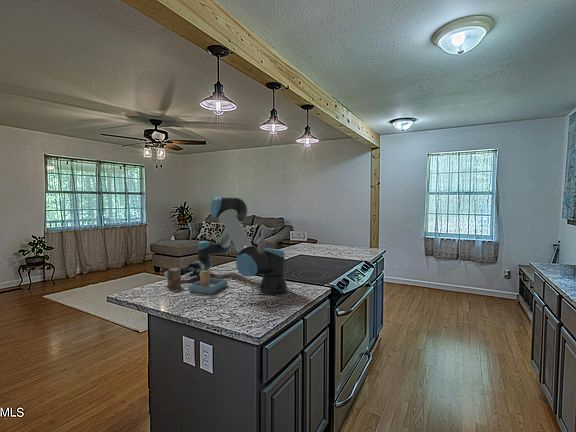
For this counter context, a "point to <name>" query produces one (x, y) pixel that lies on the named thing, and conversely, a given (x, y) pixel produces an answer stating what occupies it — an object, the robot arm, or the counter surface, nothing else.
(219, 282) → the tray
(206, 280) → the canister
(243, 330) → the counter surface
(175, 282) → the walnut block
